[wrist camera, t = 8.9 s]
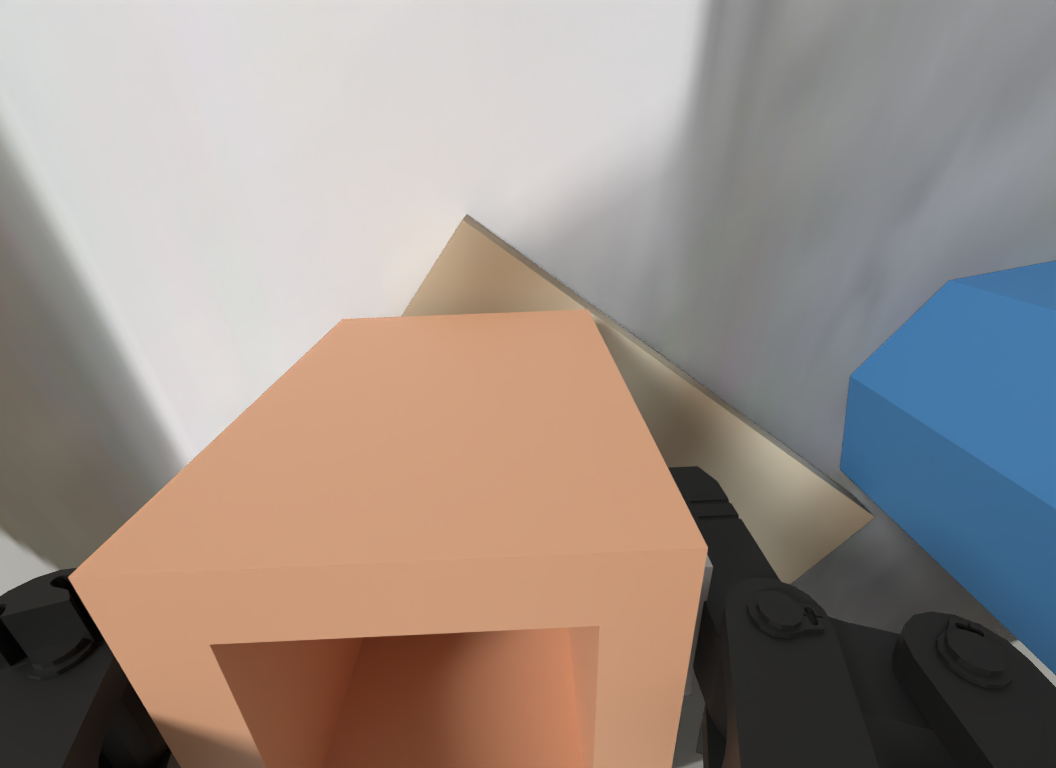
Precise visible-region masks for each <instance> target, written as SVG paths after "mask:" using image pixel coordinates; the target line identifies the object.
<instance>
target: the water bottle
mask: <svg viewBox="0 0 1056 768" xmlns="http://www.w3.org/2000/svg"><path fill="white" fill-rule="evenodd" d="M840 470H841V471H842V472H843V473H844V474H845V475H847V476H848V477H849V478H850V479H851V480H852V481H853V482H854V483H855V484H856V485H857V486H858V487H859V488H860V489H861V490H862V491H863V492H864V493H865V494H866V495H867V496H869V497H870V498H871V499H872V500H873V501H874V502H875V503H876V504H877V505H878V506H879V507H880V508H881V509H882V510H883V511H884V512H885V513H886V514H887V515H888V516H889V517H891V518H892V519H893V520H894V521H895V522H896V523H897V524H898V525H899V526H900V527H901V528H902V529H903V530H904V531H905V532H906V533H907V534H908V535H909V536H910V537H911V538H913V539H914V540H915V541H916V542H917V543H918V544H919V545H920V546H921V547H922V548H923V549H924V550H925V551H926V552H927V553H928V554H929V555H930V556H931V557H932V558H933V559H935V560H936V561H937V562H938V563H939V564H940V565H941V566H942V567H943V568H944V569H945V570H946V571H947V572H948V573H949V574H950V575H951V576H952V577H953V578H954V579H955V580H957V581H958V582H959V583H960V584H961V585H962V586H963V587H964V588H965V589H966V590H967V591H968V592H969V593H970V594H971V595H972V596H973V597H974V598H975V599H976V600H977V601H979V602H980V603H981V604H982V605H983V606H984V607H985V608H986V609H987V610H988V611H989V612H990V613H991V614H992V615H993V616H994V617H995V618H996V619H997V620H998V621H999V622H1001V623H1002V624H1003V625H1004V626H1005V627H1006V628H1007V629H1008V630H1009V631H1010V632H1011V633H1012V634H1013V635H1014V636H1015V637H1016V638H1017V639H1018V640H1019V641H1020V642H1022V643H1023V644H1024V645H1025V646H1026V647H1027V648H1028V649H1029V650H1030V651H1031V652H1032V653H1033V654H1034V655H1035V656H1036V657H1037V658H1038V659H1039V660H1040V661H1041V662H1043V663H1044V664H1045V665H1046V666H1047V667H1048V668H1049V669H1050V670H1051V671H1052V672H1053V673H1054V674H1055V675H1056V261H1051V262H1046V263H1040V264H1035V265H1030V266H1024V267H1019V268H1014V269H1008V270H1003V271H998V272H992V273H987V274H982V275H976V276H971V277H965V278H960V279H955V280H949V281H948V282H947V283H946V284H945V285H944V286H943V287H942V288H941V289H940V290H939V291H938V292H937V293H936V294H935V295H934V296H933V297H932V298H931V299H930V300H928V301H927V302H926V303H925V304H924V305H923V306H922V307H921V308H920V309H919V310H918V311H917V312H916V313H915V314H914V315H913V316H912V317H911V318H910V319H909V320H908V321H907V322H906V323H905V324H904V325H903V326H901V327H900V328H899V329H898V330H897V331H896V332H895V333H894V334H893V335H892V336H891V337H890V338H889V339H888V340H887V341H886V342H885V343H884V344H883V345H882V346H881V347H880V348H879V349H878V350H877V351H875V352H874V353H873V354H872V355H871V356H870V357H869V358H868V359H867V360H866V361H865V362H864V363H863V364H862V365H861V366H860V367H859V368H858V369H857V370H856V371H855V372H854V373H853V374H852V375H851V376H850V383H849V392H848V401H847V410H846V419H845V428H844V437H843V446H842V455H841V464H840Z"/></svg>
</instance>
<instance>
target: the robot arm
mask: <svg viewBox="0 0 1056 768" xmlns="http://www.w3.org/2000/svg"><path fill="white" fill-rule="evenodd" d="M668 469H669V471H670V473H671V475H672V477H673V479H674V481H675V483H676V485H677V487H678V489H679V491H680V493H681V495H682V497H683V499H684V501H685V503H686V505H687V507H688V509H689V511H690V513H691V515H692V517H693V519H694V521H695V523H696V525H697V527H698V529H699V531H700V533H701V535H702V537H703V539H704V541H705V543H706V545H707V547H708V551H707V557H706V563H705V569H704V575H703V581H702V587H701V593H700V599H699V606H698V612H697V618H696V624H695V630H694V636H693V642H692V648H691V654H690V660H689V666H688V672H687V678H686V684H685V690H684V695H691V691H692V686H693V680H694V674H695V675H696V677H697V680H698V683H699V686H700V689H701V692H702V694H703V697H704V700H705V708H704V713H703V718H702V723H701V728H700V733H699V738H698V744H697V750H696V753H700V754H703V764H704V768H1056V687H1055V686H1054V685H1053V684H1052V683H1051V682H1050V681H1049V680H1048V679H1047V678H1046V677H1045V676H1044V675H1043V674H1042V672H1040V670H1039V669H1038V668H1037V667H1036V666H1035V665H1034V664H1033V663H1032V662H1031V661H1030V660H1029V659H1028V658H1027V657H1026V656H1024V655H1023V654H1022V653H1021V652H1020V651H1019V650H1017V649H1016V648H1015V647H1014V646H1013V645H1012V644H1010V643H1009V642H1008V641H1007V640H1005V639H1004V638H1002V637H1000V636H999V635H997V634H995V633H993V632H992V631H990V630H988V629H987V628H985V627H983V626H982V625H980V624H977V623H974V622H972V621H969V620H966V619H964V618H961V617H958V616H956V615H951V614H944V613H937V612H927V613H921V614H916V615H914V616H913V617H912V618H911V619H910V620H909V621H908V622H907V623H906V624H905V625H904V627H903V630H902V632H901V634H897V633H892V632H888V631H883V630H879V629H874V628H870V627H865V626H861V625H856V624H852V623H847V622H844V621H841V620H837V619H834V618H831V617H829V616H827V614H826V613H825V611H824V610H823V609H822V608H821V607H820V606H819V605H818V604H817V603H816V602H815V601H814V600H813V599H812V598H811V597H810V596H809V595H807V594H805V593H804V592H802V591H800V590H799V589H797V588H795V587H793V586H792V585H790V584H787V583H784V582H781V580H780V579H779V578H778V576H777V574H776V573H775V571H774V570H773V568H772V567H771V565H770V563H769V562H768V560H767V559H766V557H765V556H764V554H763V552H762V551H761V549H760V548H759V546H758V544H757V543H756V541H755V540H754V538H753V537H752V535H751V533H750V532H749V530H748V529H747V527H746V525H745V524H744V522H743V521H742V519H739V514H738V513H737V511H736V510H735V508H734V507H733V505H732V503H729V499H728V497H727V495H726V494H725V492H724V491H723V489H722V488H721V486H720V484H719V483H718V481H717V480H715V479H714V478H713V477H711V476H710V475H709V474H707V473H706V472H705V471H703V470H702V469H701V468H699V467H698V466H689V467H668ZM76 569H77V568H73V569H65V570H59V571H56V572H52V573H49V574H46V575H43V576H40V577H37V578H34V579H32V580H30V581H28V582H26V583H24V584H22V585H20V586H18V587H16V588H14V589H12V590H10V591H8V592H6V593H5V594H3V595H2V596H0V768H181V767H180V765H179V764H178V762H177V760H176V759H175V757H174V755H173V753H172V752H171V750H170V748H169V747H168V745H167V743H166V742H165V740H164V738H163V737H162V735H161V733H160V732H159V730H158V728H157V727H156V725H155V723H154V721H153V720H152V718H151V716H150V715H149V713H148V711H147V710H146V708H145V706H144V705H143V703H142V701H141V700H140V698H139V696H138V695H137V693H136V691H135V690H134V688H133V686H132V684H131V683H130V681H129V679H128V678H127V676H126V674H125V673H124V671H123V669H122V668H121V666H120V664H119V663H118V661H117V659H116V658H115V656H114V654H113V653H112V651H111V649H110V647H109V646H108V644H107V642H106V641H105V639H104V637H103V636H102V634H101V632H100V631H99V629H98V627H97V626H96V624H95V622H94V621H93V619H92V617H91V615H90V614H89V612H88V610H87V609H86V607H85V605H84V604H83V602H82V600H81V599H80V597H79V595H78V594H77V592H76V590H75V589H74V587H73V585H72V584H71V582H70V580H69V578H68V577H69V576H70V575H71V574H72V573H73V572H74V571H75V570H76Z"/></svg>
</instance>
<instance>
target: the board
mask: <svg viewBox="0 0 1056 768" xmlns="http://www.w3.org/2000/svg"><path fill="white" fill-rule="evenodd" d="M585 309H588V310H589V312H590V314H591V316H592V318H593V320H594V322H595V324H596V326H597V328H598V330H599V332H600V334H601V336H602V338H603V340H604V342H605V344H606V346H607V348H608V350H609V352H610V354H611V356H612V358H613V360H614V362H615V364H616V366H617V368H618V370H619V372H620V374H621V376H622V378H623V380H624V382H625V384H626V386H627V388H628V390H629V392H630V394H631V396H632V398H633V400H634V402H635V404H636V406H637V408H638V410H639V412H640V414H641V416H642V418H643V420H644V421H645V423H646V425H647V427H648V429H649V431H650V433H651V435H652V437H653V439H654V441H655V443H656V445H657V447H658V449H659V451H660V453H661V455H662V457H663V459H664V461H665V463H666V465H667V467H689V466H698V467H699V468H701V469H702V470H703V471H705V472H706V473H707V474H709V475H710V476H711V477H713V478H714V479H715V480H717V481H718V483H719V484H720V486H721V488H722V489H723V491H724V492H725V494H726V495H727V497H728V499H729V503H732V505H733V507H734V508H735V510H736V511H737V513H738V514H739V519H742V521H743V522H744V524H745V525H746V527H747V529H748V530H749V532H750V533H751V535H752V537H753V538H754V540H755V541H756V543H757V544H758V546H759V548H760V549H761V551H762V552H763V554H764V556H765V557H766V559H767V560H768V562H769V563H770V565H771V567H772V568H773V570H774V571H775V573H776V574H777V576H778V578H779V579H780V580H781V582H784V583H787V584H791V583H792V582H794V581H795V580H796V579H798V578H799V577H800V576H801V575H803V574H804V573H805V572H806V571H808V570H809V569H810V568H811V567H813V566H814V565H815V564H817V563H818V562H819V561H820V560H822V559H823V558H824V557H825V556H827V555H828V554H829V553H830V552H832V551H833V550H834V549H836V548H837V547H838V546H839V545H841V544H842V543H843V542H844V541H846V540H847V539H848V538H850V537H851V536H852V535H853V534H855V533H856V532H857V531H858V530H860V529H861V528H862V527H863V526H865V525H866V524H867V523H869V522H870V521H871V520H872V519H874V518H875V517H874V516H873V515H872V514H871V513H870V512H869V511H868V510H867V509H866V508H865V507H864V506H863V505H862V504H861V503H860V502H859V501H858V500H857V499H856V498H855V497H854V496H853V495H852V494H851V493H850V492H848V491H847V490H846V489H844V488H843V487H841V486H840V485H839V484H837V483H836V482H835V481H833V480H832V479H830V478H829V477H828V476H826V475H825V474H824V473H822V472H821V471H819V470H818V469H817V468H815V467H814V466H812V465H811V464H810V463H808V462H807V461H806V460H804V459H803V458H801V457H800V456H799V455H797V454H796V453H795V452H793V451H792V450H790V449H789V448H788V447H786V446H785V445H784V444H782V443H781V442H779V441H778V440H777V439H775V438H774V437H773V436H771V435H770V434H768V433H767V432H766V431H764V430H763V429H762V428H760V427H759V426H757V425H756V424H755V423H753V422H752V421H751V420H749V419H748V418H746V417H745V416H744V415H742V414H741V413H740V412H738V411H737V410H735V409H734V408H733V407H731V406H730V405H729V404H727V403H726V402H724V401H723V400H722V399H720V398H719V397H718V396H716V395H715V394H713V393H712V392H711V391H709V390H708V389H707V388H705V387H704V386H702V385H701V384H700V383H698V382H697V381H696V380H694V379H693V378H691V377H690V376H689V375H687V374H686V373H685V372H683V371H682V370H680V369H679V368H678V367H676V366H675V365H673V364H672V363H671V362H669V361H668V360H667V359H665V358H664V357H662V356H661V355H660V354H658V353H657V352H656V351H654V350H653V349H651V348H650V347H649V346H647V345H646V344H645V343H643V342H642V341H640V340H639V339H638V338H636V337H635V336H634V335H632V334H631V333H629V332H628V331H627V330H625V329H624V328H623V327H621V326H620V325H618V324H617V323H616V322H614V321H613V320H612V319H610V318H609V317H607V316H606V315H605V314H603V313H602V312H601V311H599V310H598V309H596V308H595V307H594V306H592V305H591V304H590V303H588V302H587V301H585V300H584V299H583V298H581V297H580V296H579V295H577V294H576V293H574V292H573V291H572V290H570V289H569V288H568V287H566V286H565V285H563V284H562V283H561V282H559V281H558V280H557V279H555V278H554V277H552V276H551V275H550V274H548V273H547V272H546V271H544V270H543V269H541V268H540V267H539V266H537V265H536V264H534V263H533V262H532V261H530V260H529V259H528V258H526V257H525V256H523V255H522V254H521V253H519V252H518V251H517V250H515V249H514V248H512V247H511V246H510V245H508V244H507V243H506V242H504V241H503V240H501V239H500V238H499V237H497V236H496V235H495V234H493V233H492V232H490V231H489V230H488V229H486V228H485V227H484V226H482V225H481V224H479V223H478V222H477V221H475V220H474V219H473V218H471V217H470V216H468V215H466V216H465V217H464V218H463V220H462V221H461V223H460V224H459V226H458V228H457V229H456V231H455V232H454V234H453V236H452V237H451V239H450V240H449V242H448V243H447V245H446V247H445V248H444V250H443V251H442V253H441V254H440V256H439V258H438V259H437V261H436V262H435V264H434V266H433V267H432V269H431V270H430V272H429V273H428V275H427V277H426V278H425V280H424V281H423V283H422V285H421V286H420V288H419V289H418V291H417V292H416V294H415V296H414V297H413V299H412V300H411V302H410V304H409V305H408V307H407V308H406V310H405V311H404V313H403V315H402V316H401V317H408V316H434V315H459V314H484V313H510V312H535V311H560V310H585Z"/></svg>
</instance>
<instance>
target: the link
mask: <svg viewBox="0 0 1056 768" xmlns="http://www.w3.org/2000/svg"><path fill="white" fill-rule="evenodd" d="M707 551H708V547H707V545H706V543H705V541H704V539H703V537H702V535H701V533H700V531H699V529H698V527H697V525H696V523H695V521H694V519H693V517H692V515H691V513H690V511H689V509H688V507H687V505H686V503H685V501H684V499H683V497H682V495H681V493H680V491H679V489H678V487H677V485H676V483H675V481H674V479H673V477H672V475H671V473H670V471H669V469H668V467H667V465H666V463H665V461H664V459H663V457H662V455H661V453H660V451H659V449H658V447H657V445H656V443H655V441H654V439H653V437H652V435H651V433H650V431H649V429H648V427H647V425H646V423H645V421H644V420H643V418H642V416H641V414H640V412H639V410H638V408H637V406H636V404H635V402H634V400H633V398H632V396H631V394H630V392H629V390H628V388H627V386H626V384H625V382H624V380H623V378H622V376H621V374H620V372H619V370H618V368H617V366H616V364H615V362H614V360H613V358H612V356H611V354H610V352H609V350H608V348H607V346H606V344H605V342H604V340H603V338H602V336H601V334H600V332H599V330H598V328H597V326H596V324H595V322H594V320H593V318H592V316H591V314H590V312H589V310H588V309H585V310H560V311H535V312H510V313H484V314H459V315H434V316H408V317H383V318H358V319H342V320H341V321H340V322H339V323H338V324H337V325H336V326H335V327H334V328H332V329H331V330H330V331H329V332H328V333H327V334H326V335H325V336H324V337H323V338H322V339H321V340H320V341H319V342H318V343H317V344H315V345H314V346H313V347H312V348H311V349H310V350H309V351H308V352H307V353H306V354H305V355H304V356H303V357H302V358H301V359H299V360H298V361H297V362H296V363H295V364H294V365H293V366H292V367H291V368H290V369H289V370H288V371H287V372H286V373H285V374H284V375H282V376H281V377H280V378H279V379H278V380H277V381H276V382H275V383H274V384H273V385H272V386H271V387H270V388H269V389H268V390H267V391H265V392H264V393H263V394H262V395H261V396H260V397H259V398H258V399H257V400H256V401H255V402H254V403H253V404H252V405H251V406H249V407H248V408H247V409H246V410H245V411H244V412H243V413H242V414H241V415H240V416H239V417H238V418H237V419H236V420H235V421H234V422H232V423H231V424H230V425H229V426H228V427H227V428H226V429H225V430H224V431H223V432H222V433H221V434H220V435H219V436H218V437H217V438H215V439H214V440H213V441H212V442H211V443H210V444H209V445H208V446H207V447H206V448H205V449H204V450H203V451H202V452H201V453H199V454H198V455H197V456H196V457H195V458H194V459H193V460H192V461H191V462H190V463H189V464H188V465H187V466H186V467H185V468H184V469H182V470H181V471H180V472H179V473H178V474H177V475H176V476H175V477H174V478H173V479H172V480H171V481H170V482H169V483H168V484H167V485H165V486H164V487H163V488H162V489H161V490H160V491H159V492H158V493H157V494H156V495H155V496H154V497H153V498H152V499H151V500H149V501H148V502H147V503H146V504H145V505H144V506H143V507H142V508H141V509H140V510H139V511H138V512H137V513H136V514H135V515H134V516H132V517H131V518H130V519H129V520H128V521H127V522H126V523H125V524H124V525H123V526H122V527H121V528H120V529H119V530H118V531H117V532H115V533H114V534H113V535H112V536H111V537H110V538H109V539H108V540H107V541H106V542H105V543H104V544H103V545H102V546H101V547H99V548H98V549H97V550H96V551H95V552H94V553H93V554H92V555H91V556H90V557H89V558H88V559H87V560H86V561H85V562H84V563H82V564H81V565H80V566H79V567H78V568H77V569H76V570H75V571H74V572H73V573H72V574H71V575H70V576H69V577H68V578H69V580H70V582H71V584H72V585H73V587H74V589H75V590H76V592H77V594H78V595H79V597H80V599H81V600H82V602H83V604H84V605H85V607H86V609H87V610H88V612H89V614H90V615H91V617H92V619H93V621H94V622H95V624H96V626H97V627H98V629H99V631H100V632H101V634H102V636H103V637H104V639H105V641H106V642H107V644H108V646H109V647H110V649H111V651H112V653H113V654H114V656H115V658H116V659H117V661H118V663H119V664H120V666H121V668H122V669H123V671H124V673H125V674H126V676H127V678H128V679H129V681H130V683H131V684H132V686H133V688H134V690H135V691H136V693H137V695H138V696H139V698H140V700H141V701H142V703H143V705H144V706H145V708H146V710H147V711H148V713H149V715H150V716H151V718H152V720H153V721H154V723H155V725H156V727H157V728H158V730H159V732H160V733H161V735H162V737H163V738H164V740H165V742H166V743H167V745H168V747H169V748H170V750H171V752H172V753H173V755H174V757H175V759H176V760H177V762H178V764H179V765H180V767H181V768H672V762H673V756H674V750H675V744H676V738H677V732H678V726H679V720H680V714H681V708H682V702H683V696H684V690H685V684H686V678H687V672H688V666H689V660H690V654H691V648H692V642H693V636H694V630H695V624H696V618H697V612H698V606H699V599H700V593H701V587H702V581H703V575H704V569H705V563H706V557H707Z"/></svg>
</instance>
